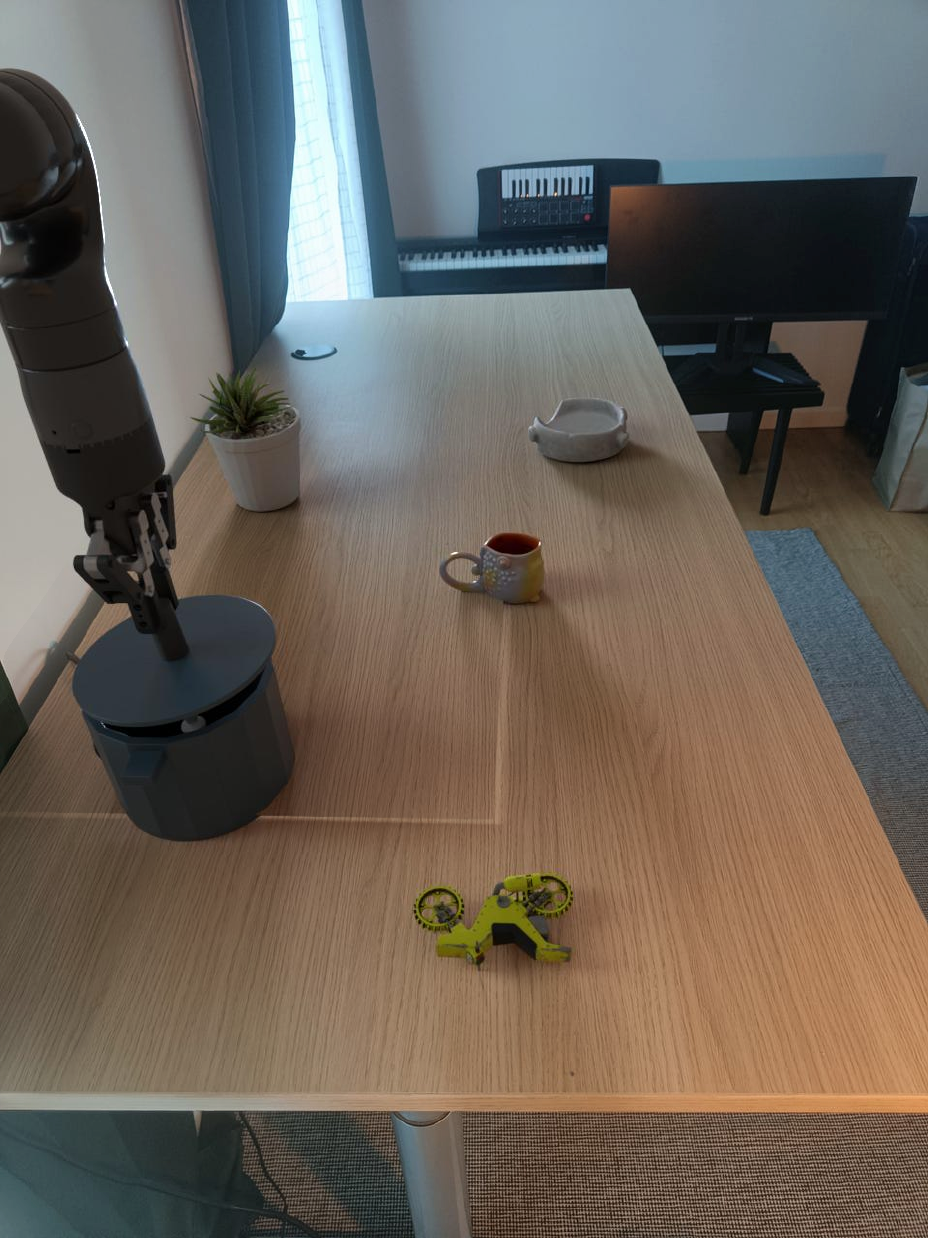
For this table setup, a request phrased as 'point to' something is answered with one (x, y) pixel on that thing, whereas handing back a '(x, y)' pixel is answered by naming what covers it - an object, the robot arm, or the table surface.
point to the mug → (503, 568)
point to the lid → (175, 662)
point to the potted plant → (255, 444)
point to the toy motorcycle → (499, 919)
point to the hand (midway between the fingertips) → (159, 619)
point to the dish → (582, 430)
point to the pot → (202, 765)
